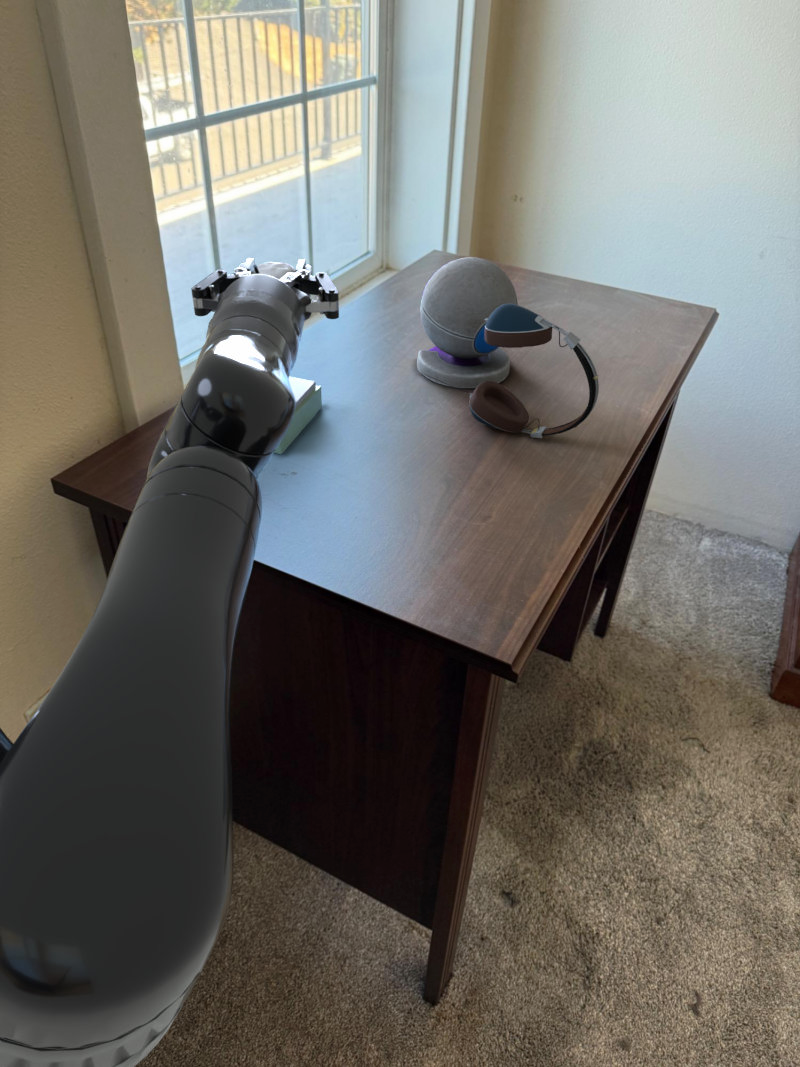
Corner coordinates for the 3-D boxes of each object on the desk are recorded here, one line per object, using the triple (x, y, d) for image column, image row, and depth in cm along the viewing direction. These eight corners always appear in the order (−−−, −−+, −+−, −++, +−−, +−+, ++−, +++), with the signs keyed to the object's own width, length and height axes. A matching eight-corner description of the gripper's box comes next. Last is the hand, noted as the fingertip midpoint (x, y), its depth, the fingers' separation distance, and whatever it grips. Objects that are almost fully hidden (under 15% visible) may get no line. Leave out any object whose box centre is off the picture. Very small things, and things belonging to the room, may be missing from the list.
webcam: (473, 341, 112) (483, 239, 103) (528, 375, 104) (545, 267, 94) (400, 359, 106) (404, 252, 97) (452, 397, 98) (462, 284, 89)
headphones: (405, 404, 94) (569, 468, 87) (422, 288, 84) (609, 350, 78) (427, 385, 98) (585, 444, 92) (446, 272, 88) (624, 330, 82)
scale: (185, 434, 88) (181, 405, 86) (234, 390, 97) (231, 363, 95) (281, 454, 85) (279, 425, 83) (322, 407, 94) (321, 380, 92)
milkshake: (246, 356, 78) (234, 260, 72) (276, 339, 82) (268, 246, 76) (282, 366, 77) (273, 268, 71) (311, 347, 81) (305, 253, 74)
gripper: (177, 373, 65) (212, 302, 79) (340, 377, 66) (347, 305, 79) (163, 289, 61) (202, 228, 74) (339, 293, 61) (346, 232, 75)
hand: (277, 268), depth 77 cm, fingers closed on milkshake, 4 cm apart
